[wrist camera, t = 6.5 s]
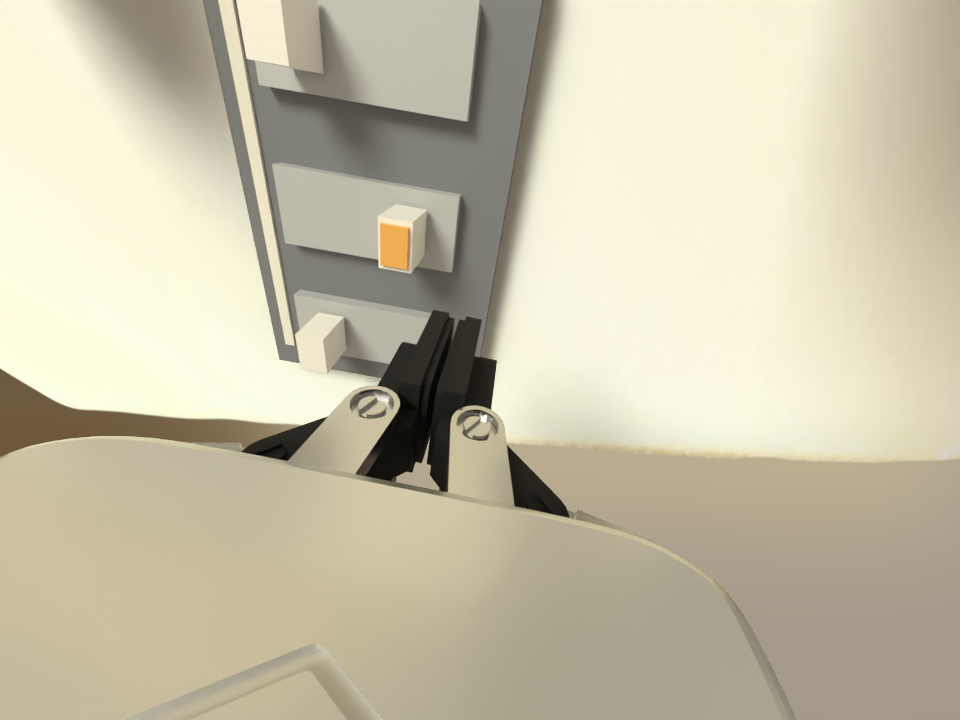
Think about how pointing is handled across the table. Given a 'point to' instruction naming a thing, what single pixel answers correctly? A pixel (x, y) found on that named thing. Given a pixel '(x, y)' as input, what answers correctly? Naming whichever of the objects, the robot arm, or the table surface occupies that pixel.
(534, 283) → the table surface
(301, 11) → the block
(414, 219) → the block
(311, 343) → the breaker
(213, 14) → the breaker panel
